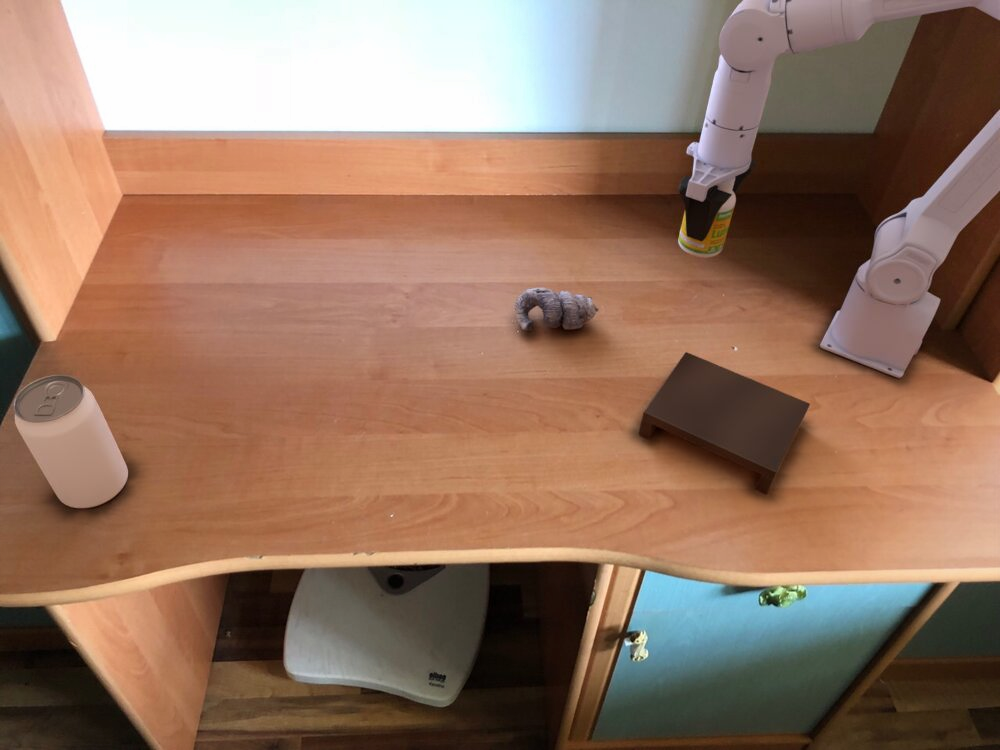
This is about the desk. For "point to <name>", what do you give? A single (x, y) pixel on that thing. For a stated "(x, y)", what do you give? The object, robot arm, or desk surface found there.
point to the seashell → (555, 308)
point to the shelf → (727, 415)
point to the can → (70, 440)
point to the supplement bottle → (718, 229)
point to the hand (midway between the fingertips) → (705, 225)
